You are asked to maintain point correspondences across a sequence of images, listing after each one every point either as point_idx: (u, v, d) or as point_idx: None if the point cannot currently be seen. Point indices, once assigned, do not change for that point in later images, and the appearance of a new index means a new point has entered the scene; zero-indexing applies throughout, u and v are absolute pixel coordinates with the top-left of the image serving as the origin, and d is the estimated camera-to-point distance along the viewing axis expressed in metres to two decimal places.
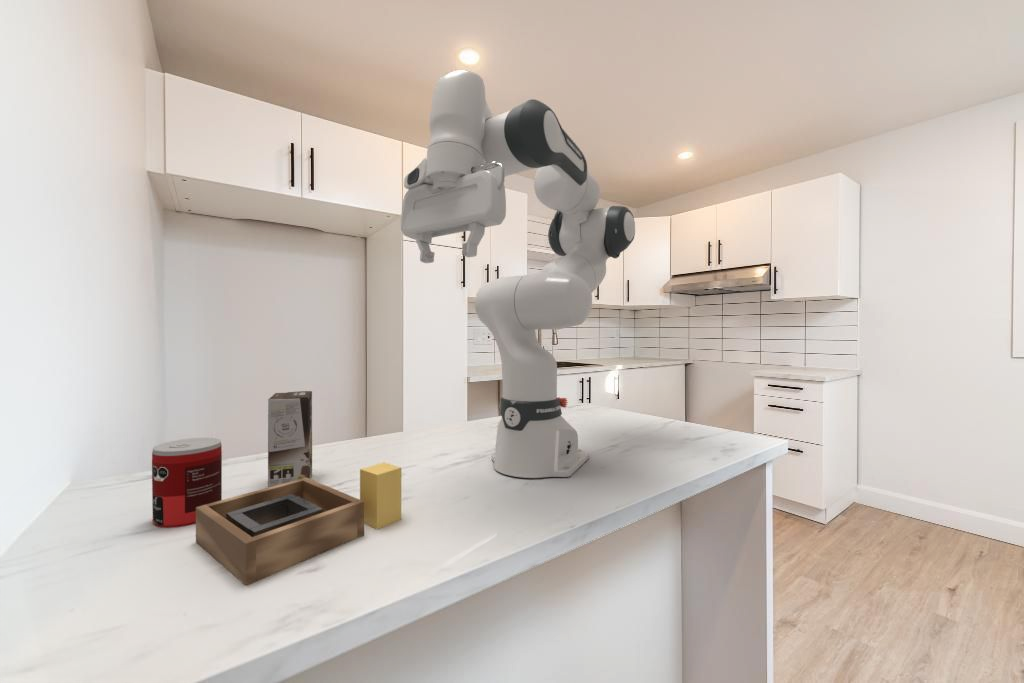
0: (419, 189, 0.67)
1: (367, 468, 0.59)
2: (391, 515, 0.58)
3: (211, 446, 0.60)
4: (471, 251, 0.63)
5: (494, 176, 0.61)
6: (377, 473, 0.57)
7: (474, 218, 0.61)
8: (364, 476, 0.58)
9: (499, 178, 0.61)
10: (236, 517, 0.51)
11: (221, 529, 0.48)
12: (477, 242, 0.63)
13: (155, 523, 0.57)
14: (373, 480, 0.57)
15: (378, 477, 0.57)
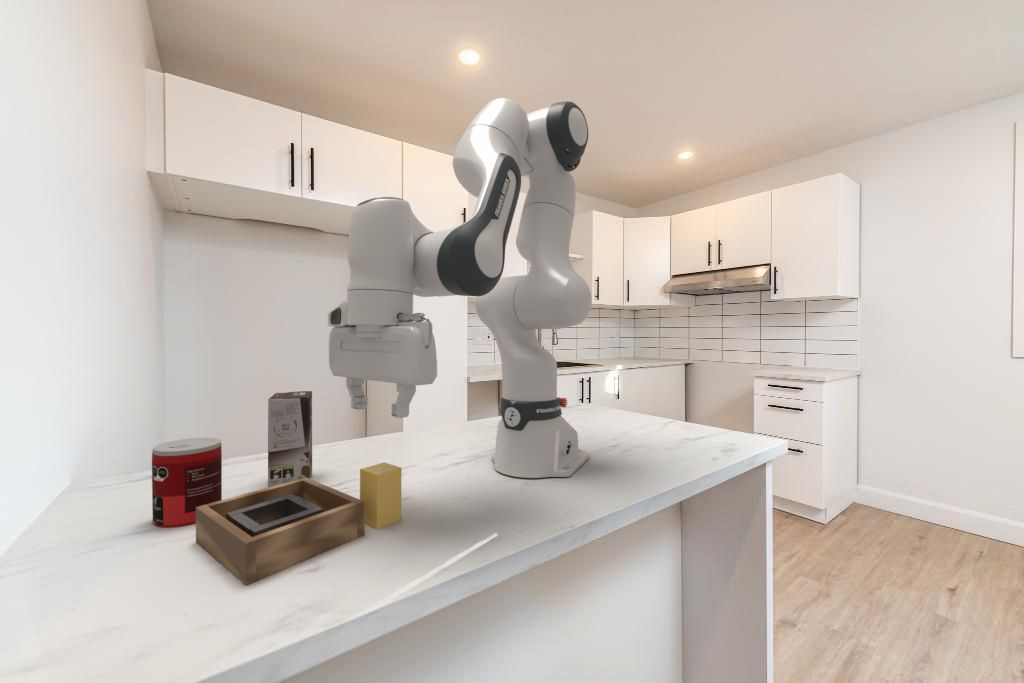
0: (343, 332, 0.59)
1: (367, 468, 0.59)
2: (391, 515, 0.58)
3: (211, 446, 0.60)
4: (401, 413, 0.55)
5: (420, 334, 0.53)
6: (377, 473, 0.57)
7: (400, 382, 0.53)
8: (364, 476, 0.58)
9: (425, 336, 0.53)
10: (236, 517, 0.51)
11: (221, 529, 0.48)
12: (408, 401, 0.56)
13: (155, 523, 0.57)
14: (373, 480, 0.57)
15: (378, 477, 0.57)
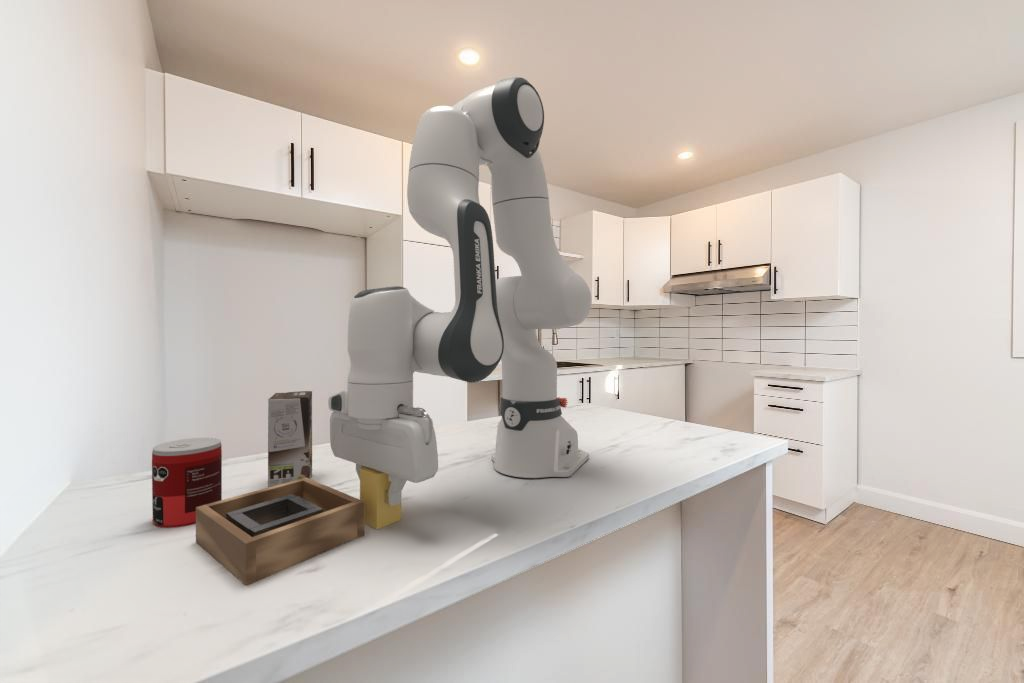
0: (344, 418, 0.60)
1: (367, 467, 0.59)
2: (391, 515, 0.58)
3: (211, 446, 0.60)
4: (394, 501, 0.57)
5: (420, 431, 0.53)
6: (377, 473, 0.57)
7: (402, 477, 0.54)
8: (364, 476, 0.58)
9: (426, 434, 0.53)
10: (236, 517, 0.51)
11: (221, 529, 0.48)
12: (400, 488, 0.57)
13: (155, 523, 0.57)
14: (373, 480, 0.57)
15: (378, 477, 0.57)
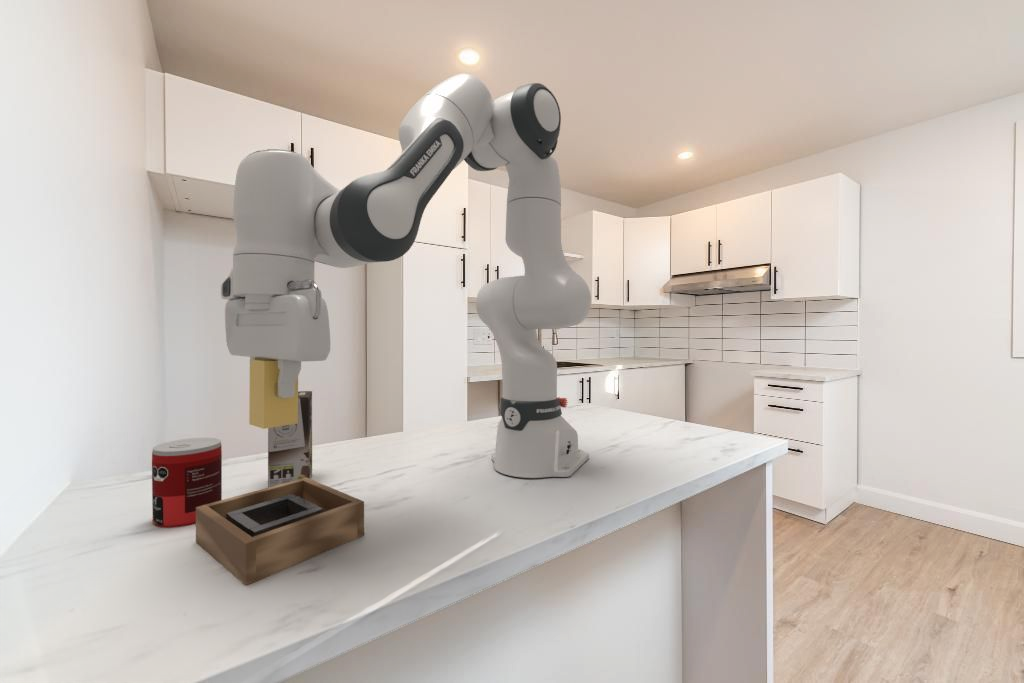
0: (234, 305, 0.53)
1: (258, 359, 0.52)
2: (283, 411, 0.51)
3: (211, 446, 0.60)
4: (284, 393, 0.50)
5: (307, 302, 0.46)
6: (265, 360, 0.50)
7: (287, 358, 0.47)
8: (253, 366, 0.51)
9: (313, 305, 0.46)
10: (236, 517, 0.51)
11: (221, 529, 0.48)
12: (293, 379, 0.51)
13: (155, 523, 0.57)
14: (260, 368, 0.50)
15: (266, 364, 0.50)
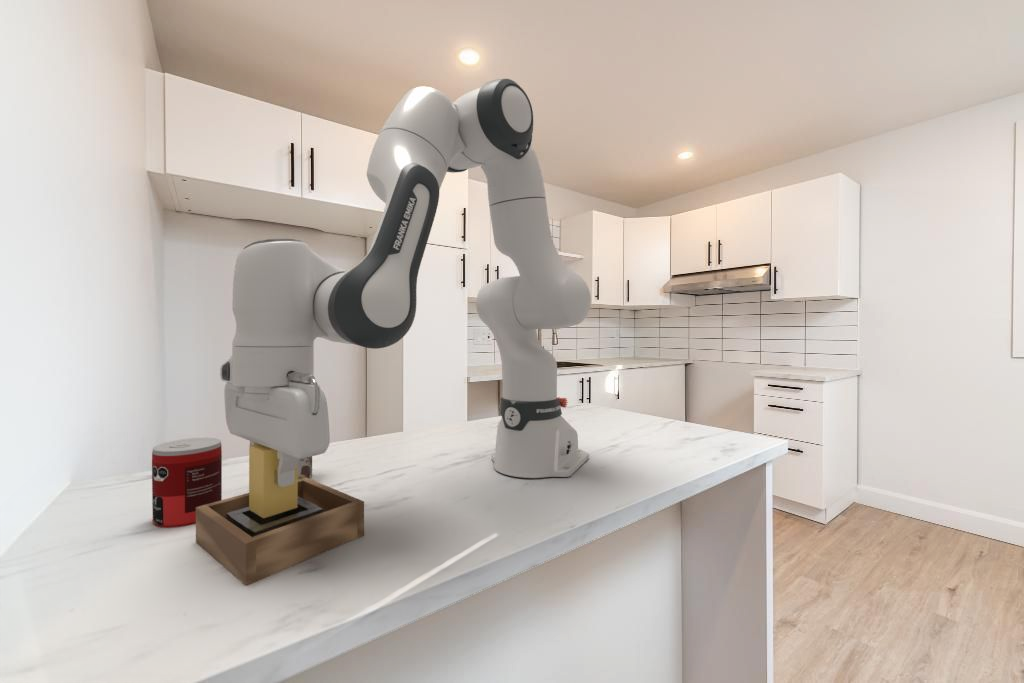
0: (234, 389, 0.53)
1: (258, 444, 0.53)
2: (283, 497, 0.52)
3: (211, 446, 0.60)
4: (284, 482, 0.50)
5: (306, 399, 0.46)
6: (265, 449, 0.50)
7: (286, 453, 0.47)
8: (253, 453, 0.51)
9: (312, 402, 0.46)
10: (236, 517, 0.51)
11: (221, 529, 0.48)
12: (292, 467, 0.51)
13: (155, 523, 0.57)
14: (260, 457, 0.50)
15: (265, 454, 0.50)
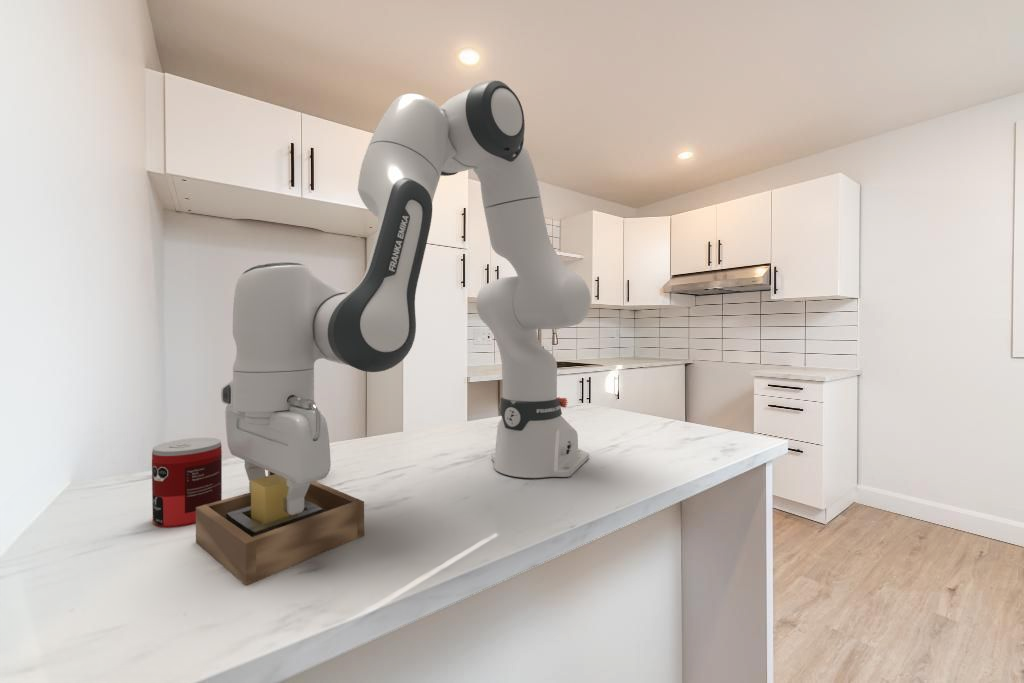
0: (234, 412, 0.53)
1: (260, 478, 0.53)
2: None
3: (211, 446, 0.60)
4: (294, 509, 0.49)
5: (307, 425, 0.46)
6: (266, 485, 0.50)
7: (287, 478, 0.47)
8: (254, 488, 0.52)
9: (313, 428, 0.46)
10: (236, 517, 0.51)
11: (221, 529, 0.48)
12: (302, 495, 0.50)
13: (155, 523, 0.57)
14: (262, 493, 0.50)
15: (267, 490, 0.50)
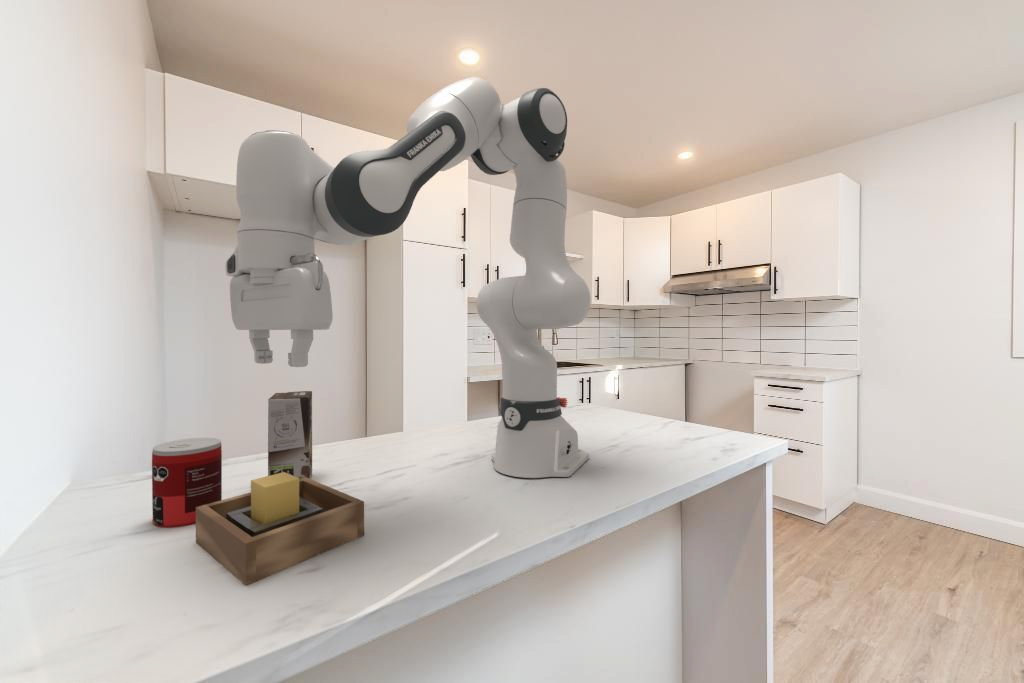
0: (239, 280, 0.56)
1: (260, 478, 0.53)
2: None
3: (211, 446, 0.60)
4: (298, 362, 0.52)
5: (309, 274, 0.49)
6: (266, 485, 0.50)
7: (292, 327, 0.50)
8: (254, 488, 0.52)
9: (315, 277, 0.49)
10: (236, 517, 0.51)
11: (221, 529, 0.48)
12: (306, 349, 0.53)
13: (155, 523, 0.57)
14: (262, 493, 0.50)
15: (267, 490, 0.50)
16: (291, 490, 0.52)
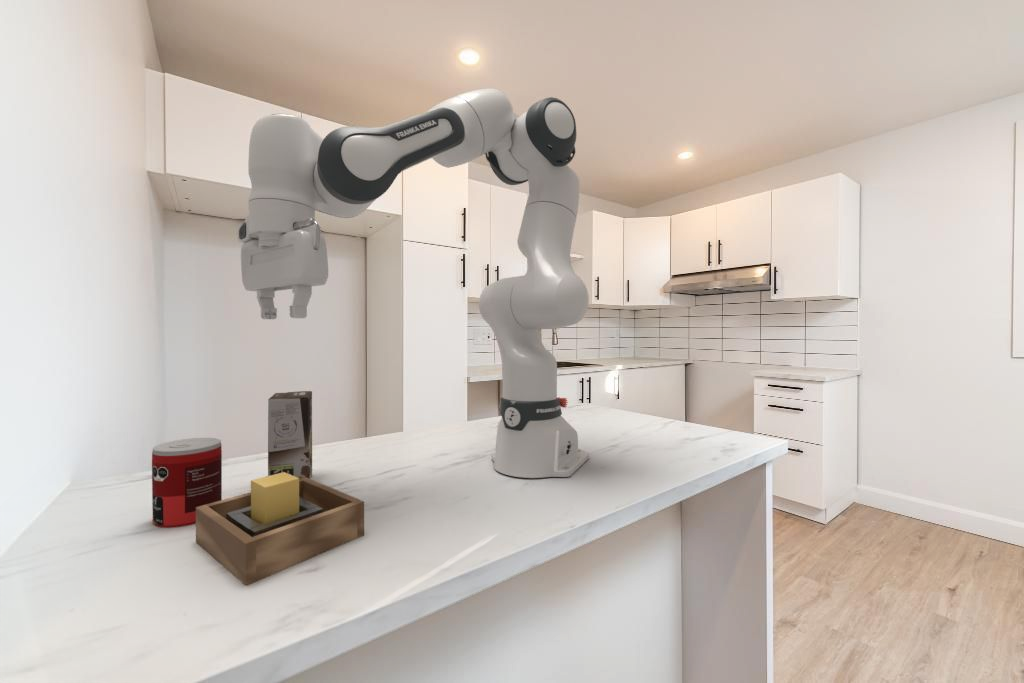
0: (249, 245, 0.64)
1: (260, 478, 0.53)
2: None
3: (211, 446, 0.60)
4: (298, 314, 0.60)
5: (309, 236, 0.57)
6: (266, 485, 0.50)
7: (293, 281, 0.58)
8: (254, 488, 0.52)
9: (314, 238, 0.57)
10: (236, 517, 0.51)
11: (221, 529, 0.48)
12: (305, 303, 0.61)
13: (155, 523, 0.57)
14: (262, 493, 0.50)
15: (267, 490, 0.50)
16: (291, 490, 0.52)
